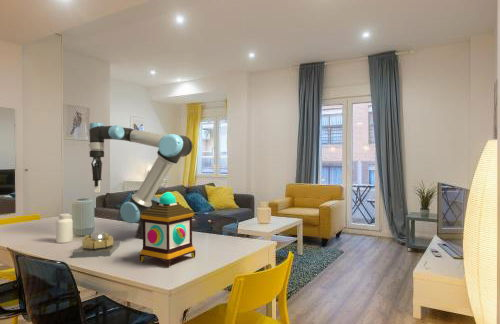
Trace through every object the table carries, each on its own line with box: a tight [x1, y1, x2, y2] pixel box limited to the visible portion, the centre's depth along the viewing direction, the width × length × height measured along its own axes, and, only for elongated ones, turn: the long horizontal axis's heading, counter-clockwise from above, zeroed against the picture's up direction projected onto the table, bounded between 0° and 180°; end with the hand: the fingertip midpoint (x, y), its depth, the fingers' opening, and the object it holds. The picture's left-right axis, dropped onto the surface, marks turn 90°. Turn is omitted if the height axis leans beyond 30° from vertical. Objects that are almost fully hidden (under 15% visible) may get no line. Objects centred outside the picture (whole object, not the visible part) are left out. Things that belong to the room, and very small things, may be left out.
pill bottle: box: [55, 213, 74, 244], centre depth 184 cm, size 8×8×15 cm
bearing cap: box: [72, 232, 121, 259], centre depth 164 cm, size 16×20×8 cm
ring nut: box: [81, 232, 114, 249], centre depth 167 cm, size 22×13×4 cm, turn 32°
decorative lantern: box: [138, 191, 196, 268], centre depth 149 cm, size 20×20×30 cm
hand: (97, 192), depth 190 cm, fingers closed
